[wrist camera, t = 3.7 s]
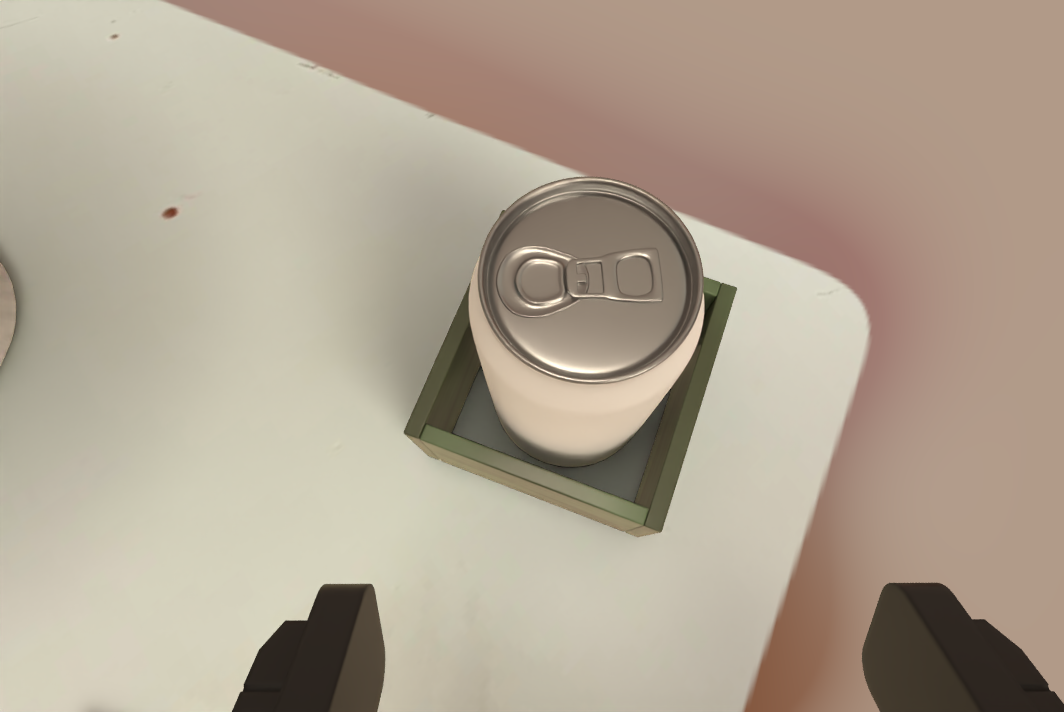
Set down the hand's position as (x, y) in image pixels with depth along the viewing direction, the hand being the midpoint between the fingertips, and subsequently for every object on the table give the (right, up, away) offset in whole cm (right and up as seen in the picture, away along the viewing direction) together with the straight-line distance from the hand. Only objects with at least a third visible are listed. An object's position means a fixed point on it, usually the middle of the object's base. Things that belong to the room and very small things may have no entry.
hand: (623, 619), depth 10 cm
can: (0, +3, +17) cm, 17 cm away
